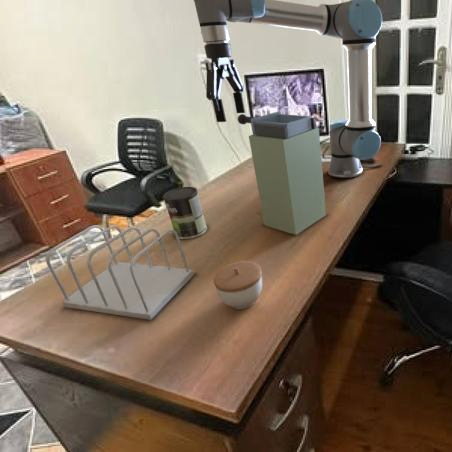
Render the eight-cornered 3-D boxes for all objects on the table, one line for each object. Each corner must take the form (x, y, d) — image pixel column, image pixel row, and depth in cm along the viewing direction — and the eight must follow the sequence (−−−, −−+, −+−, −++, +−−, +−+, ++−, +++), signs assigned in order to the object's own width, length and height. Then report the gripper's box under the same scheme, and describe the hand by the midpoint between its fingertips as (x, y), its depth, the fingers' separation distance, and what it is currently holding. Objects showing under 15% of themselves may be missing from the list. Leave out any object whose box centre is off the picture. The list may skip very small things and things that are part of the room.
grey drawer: (313, 128, 106) (312, 113, 104) (286, 138, 97) (284, 122, 95) (254, 122, 120) (252, 109, 118) (226, 130, 112) (223, 116, 109)
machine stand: (326, 215, 121) (317, 116, 105) (295, 235, 110) (281, 128, 94) (295, 206, 129) (283, 114, 113) (263, 224, 118) (245, 124, 102)
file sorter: (64, 308, 85) (34, 254, 78) (118, 267, 100) (97, 219, 93) (151, 320, 79) (127, 263, 72) (195, 275, 94) (179, 224, 87)
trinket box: (255, 318, 78) (248, 284, 73) (212, 313, 80) (202, 280, 76) (272, 287, 87) (266, 256, 83) (233, 284, 89) (225, 253, 85)
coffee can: (184, 242, 110) (171, 202, 104) (169, 233, 117) (157, 194, 110) (213, 229, 117) (203, 190, 110) (198, 221, 123) (187, 184, 117)
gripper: (225, 42, 114) (238, 110, 124) (180, 45, 93) (200, 126, 103) (246, 41, 112) (257, 109, 122) (206, 43, 91) (224, 125, 101)
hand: (231, 117), depth 113 cm, fingers open, 13 cm apart
